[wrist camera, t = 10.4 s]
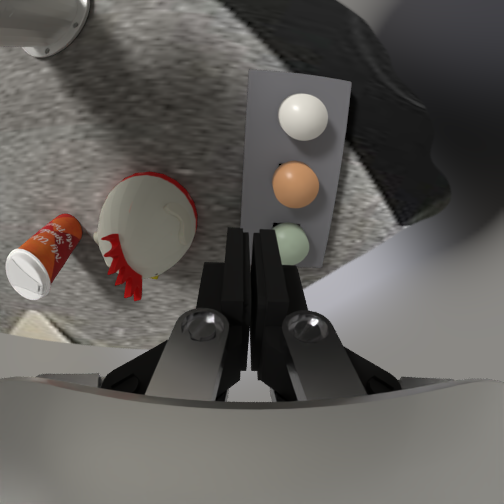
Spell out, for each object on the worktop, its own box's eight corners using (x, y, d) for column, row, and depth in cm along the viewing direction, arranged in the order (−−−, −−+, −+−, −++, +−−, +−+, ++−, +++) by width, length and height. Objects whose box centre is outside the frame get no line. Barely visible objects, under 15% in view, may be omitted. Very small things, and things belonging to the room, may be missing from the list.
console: (248, 70, 32) (249, 69, 29) (343, 81, 32) (351, 81, 30) (239, 253, 45) (238, 265, 42) (317, 256, 46) (321, 267, 43)
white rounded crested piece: (133, 267, 46) (102, 334, 33) (93, 193, 39) (39, 244, 26) (212, 242, 44) (200, 313, 31) (174, 156, 37) (138, 197, 24)
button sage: (266, 211, 40) (269, 228, 36) (304, 213, 40) (312, 230, 36) (263, 245, 43) (266, 265, 38) (299, 247, 43) (305, 266, 39)
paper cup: (92, 219, 41) (48, 272, 29) (82, 256, 44) (44, 311, 33) (53, 199, 39) (2, 244, 27) (46, 237, 42) (2, 285, 30)
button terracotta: (271, 153, 36) (275, 163, 32) (312, 156, 36) (322, 167, 32) (268, 192, 39) (271, 207, 34) (307, 194, 39) (315, 209, 35)
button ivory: (276, 90, 32) (281, 91, 27) (319, 95, 32) (330, 97, 28) (273, 131, 34) (277, 138, 30) (314, 135, 35) (325, 143, 30)
